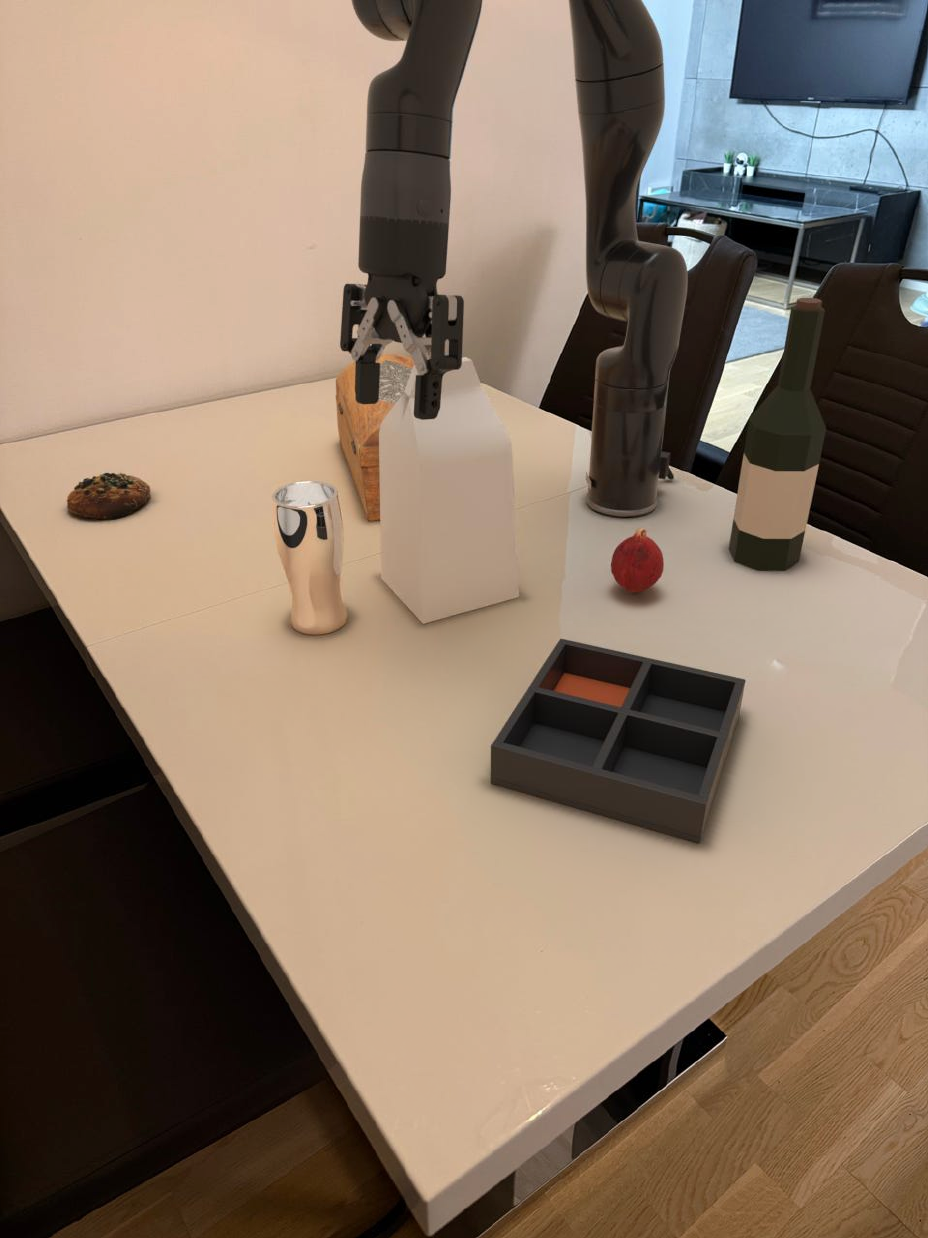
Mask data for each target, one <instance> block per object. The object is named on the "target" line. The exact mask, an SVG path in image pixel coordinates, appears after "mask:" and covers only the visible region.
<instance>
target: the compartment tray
mask: <svg viewBox="0 0 928 1238" xmlns="http://www.w3.org/2000/svg"><path fill="white" fill-rule="evenodd" d="M745 686H746V679H745V678H740V677H736V676H731V675H727V674H724V673H723V674H722V673H718V672H713V671H709V670H704V669H700V668H695V667H691V666H686V665H682V664H678V663H674V662H673V663H672V662H668V661H663V660H659V659H656V658H650V657H646V656H642V655H638V654H633V653H628V652H623V651H620V650H614V649H611V648H606V647H601V646H597V645H592V644H588V643H583V642H580V641H574V640H571V639H566V638H559V640H558V641H557V643H556V644H555V646H554V647H553V649H552V651H551V652H550V654H549V655H548V656H547V658H546V659H545V661H544V663H543V665H542V666H541V668H540V669H539V670H538V672H537V674H536V675H535V676H534V678H533V680H532V681H531V683H530V685H529V686H528V687H527V689H526V690H525V692H524V694H523V696H522V697H521V698H520V700H519V701H518V703H517V704H516V706H515V708H514V709H513V711H511V714H510V715H509V717H508V718H507V720H506V722H505V723H504V725H503V726H502V728H501V729H500V731H499V732H498V734H497V736H496V737H495V739H494V740H493V742H491V744H490V784H492V785H497V786H500V787H503V788H507V789H510V790H514V791H517V792H520V793H524V794H527V795H530V796H534V797H538V798H541V799H544V800H548V801H552V802H555V803H559V804H562V805H565V806H569V807H572V808H576V809H578V810H582V811H586V812H590V813H593V814H596V815H600V816H603V817H607V818H610V819H614V820H617V821H621V822H624V823H628V824H631V825H635V826H638V827H641V828H645V829H648V830H652V831H655V832H659V833H662V834H666V835H669V836H673V837H676V838H679V839H683V840H687V841H689V842H693V843H696V844H700V843H701V841H702V838H703V835H704V832H705V829H706V825H707V822H708V818H709V815H710V812H711V808H712V805H713V802H714V799H715V796H716V793H717V789H718V785H719V783H720V779H721V777H722V773H723V769H724V767H725V763H726V759H727V756H728V753H729V750H730V748H731V745H732V744H731V743H732V742H733V737H734V734H735V731H736V729H737V728H736V727H737V723H738V721H739V717H740V713H741V707H742V703H743V697H744V690H745Z"/></svg>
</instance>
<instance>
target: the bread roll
mask: <svg viewBox="0 0 928 1238" xmlns="http://www.w3.org/2000/svg"><path fill="white" fill-rule="evenodd" d="M150 496H151V486H150V485H149V484H148V482H146V481H144V480H143V479H141V478H140V477H137V476H134V475H129V474H126V473H123V472H120V473H115V472H111V473H110V472H104V473H101V474H99V475H97V476H96V475H93V476H92V477H91V478H89V477H86V478H83V480H82V481H79V482H78V483H77V485H75V486H74V487H73V490H71V492H69V494H68V495H67V499H66V509H67V510H68V511H69V512H70V513H71V514H74V515H75V516H79V517H83V518H90V519H95V520H98V519H102V520H107V521H110V520H111V521H112V520H115V519H118V518H122V517H123V516H126V515H129V514H131V513H133V512H135V510H139V509H140V508H141V507H142V506H144V505H145V504H146V503H147V500H148V498H150Z"/></svg>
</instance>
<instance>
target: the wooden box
mask: <svg viewBox="0 0 928 1238" xmlns="http://www.w3.org/2000/svg"><path fill="white" fill-rule="evenodd" d="M376 362H377V363H380V381H379V400H378V402H377V403H376V404H360V403H357V402H356V399H355V396H356V394H355V367H356V362H355V361H354V362H352V363H349V365H347V366H346V367H345V368H344V369H343V370H342V371H341V372H340V373H339V374H338V376H337V377H336V379H335V404H336V421H337V429H338V430H337V432H338V439H339V443H340V446H341V448H342V449H341V450H342V452H343V454H344V457H345V460H346V462H347V465H348V468H349V471H350V473H351V474H350V475H351V477H352V479H353V480H352V481H353V483H354V486H355V488H356V492H357V495H358V498H359V501H360V503H361V506H362V509H363V512H364V515H365V518H366V519H367V521H369V522H370V521H380V472H379V430H380V426H381V424H382V421H383V420H384V418H385V417H386V415H387V414H388V413H389V412H390V410H391V409H392V408H393V407H394V405H395V404H396V403H397V401H398V400H399V399H400V398H401V396H402V395H403V394H405V393H404V391H405V388H406V385H407V383H408V380H409V377H410V375H411V372H412V369H413V366H414V365H415V364H414V361H413V358H412V357H409V356H406V355H402V354H381V356H380V358H379V359H378V360H377V361H376Z"/></svg>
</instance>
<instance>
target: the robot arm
mask: <svg viewBox="0 0 928 1238" xmlns="http://www.w3.org/2000/svg"><path fill="white" fill-rule="evenodd" d="M351 5H352V9H353V10H354V14H355V16H356V17H357V19H358V21H359V22H360V23H361V25H362V26H363V28H365V30H367V31H368V33H370V34H371V35H373V36H375V37H376V38H378V39H381V40H384V41H388V42H405V46H404V49H403V52H402V55H401V58H399V59H400V60H398V62H397V63H396V64H395V65H393V66H392V67H390V68H388V69H386V70H383V71H381V72H380V73H378V74H377V75H375V76H374V77H373V78H372V80H371V81H370V83H369V86H368V91H367V98H366V125H365V128H366V129H365V153H364V163H363V169H362V175H361V183H360V202H359V203H360V204H359V205H360V206H359V208H360V209H359V232H358V233H359V235H358V258H357V259H358V266H357V267H358V269H359V271H360V272H361V273H363V274H367V276H368V277H367V283H366V284H364V283H345V284H344V286H343V291H342V305H341V307H342V308H341V324H340V339H339V341H340V342H339V347H340V349H341V351H342V352H348V353H349V354H350V355H351V359H352V360H353V361H354V362H356V367H355V394H356V396H355V399H356V402H357V403H360V404H376V403H377V402H378V400H379V381H380V363H377V362H376V361H377V360H378V359H379V358H380V356H381V355H383V353H384V350H385V349H386V347H387V346H389V345H391V343H393V342H395V343H398V344H402V347H403V349H404V351H405V352H407V353H408V354H410V355H411V358H412V359H413V361H414V364H415V366H416V369H417V372H418V374H419V375H416V381H415V398H414V417H415V418H417V419H421V420H427V419H435V418H436V417H437V415H438V412H439V410H440V403H441V401H440V400H441V388H442V378H443V375H444V374H445V373H446V372H449V371H452V370H459V369H460V368H461V365H462V357H463V340H464V339H463V338H464V316H465V315H464V314H465V313H464V312H465V300H464V297H463V296H461V295H458V294H457V295H455V294H439V293H438V288H437V285H438V281H439V280H442V279H443V278H444V277H446V273H447V259H448V246H449V229H450V215H451V201H452V179H451V161H450V160H451V156H452V155H451V154H452V153H451V152H452V140H453V139H452V138H453V126H454V125H453V123H454V107H455V103H456V99H457V95H458V92H459V90H460V88H461V87H460V86H461V84H462V81H463V78H464V74H465V70H466V67H467V63H468V60H469V57H470V53H471V50H472V46H473V43H474V40H475V37H476V34H477V33H476V32H477V29H478V26H479V21H480V18H481V14H482V6H483V0H351ZM568 9H569V17H570V29H571V39H572V52H573V69H574V81H575V83H574V84H575V91H576V94H575V95H576V105H577V115H578V121H579V130H580V137H581V150H582V163H583V179H584V195H585V196H584V197H585V278H586V289H587V294H588V299H589V300H590V303H591V305H592V308H594V310H595V311H596V312H597V313H598V314H599V315H602V316H603V317H606V318H608V319H612V320H616V321H620V322H623V323H627V326H626V333H625V339H624V342H623V345H619V346H616V347H611V348H608V349H605V350H603V351H602V352H600V353H599V354H598V356H597V357H596V361H595V373H594V388H593V389H594V390H593V409H592V422H591V423H592V424H591V436H590V437H591V440H590V452H589V453H590V454H589V469H588V472H587V471H585V481H586V484H587V492H586V504H587V506H588V507H589V508H590V509H592V510H594V511H595V512H598V513H600V514H603V515H607V516H611V517H620V518H629V517H630V518H631V517H632V518H633V517H639V516H643V515H646V514H649V513H651V512H652V511H654V510H655V509H656V507H657V505H658V488H659V487H658V485H659V479H660V480H666V478H667V479H668V480H671V481H672V480H674V478H675V474H673V472H672V470H671V468H670V461H671V452H667V451H662V450H663V442H664V432H665V423H666V413H667V406H668V405H667V402H668V393H669V383H670V376H671V375H670V374H671V369H672V366H673V364H674V361H675V359H676V356H677V353H678V351H679V345H680V340H681V331H682V327H683V320H684V314H685V308H686V304H687V303H686V301H687V296H688V287H689V285H688V284H689V279H688V278H689V276H688V275H689V273H688V267H687V263H686V260H685V257H684V256H683V254H682V253H681V252H680V251H679V250H678V249H676V248H674V247H671V246H668V245H663V244H659V243H652V242H646V241H641V240H639V237H638V230H637V216H636V215H637V214H636V211H637V210H636V207H637V206H636V201H637V192H638V187H639V183H640V179H641V177H642V174H643V172H644V169H645V168H646V165H647V162H648V160H649V158H650V156H651V153H652V152H653V149H654V146H655V145H656V142H657V140H658V137H659V134H660V131H661V128H662V125H663V121H664V117H665V109H666V95H665V92H666V91H665V89H666V88H665V65H664V50H663V49H664V48H663V44H662V40H661V35H660V33H659V31H658V28H657V25H656V24H655V22H654V20H653V18H652V16H651V14H650V12H649V10H648V8H647V7H646V5H645V4H644V2H643V0H568ZM354 326H357V330H356V335H357V337H353V334H354V333H353V331H354ZM424 336H425V337H424ZM447 340H448V354H446V342H447ZM427 355H428V357H429V358H428V357H427Z"/></svg>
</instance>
